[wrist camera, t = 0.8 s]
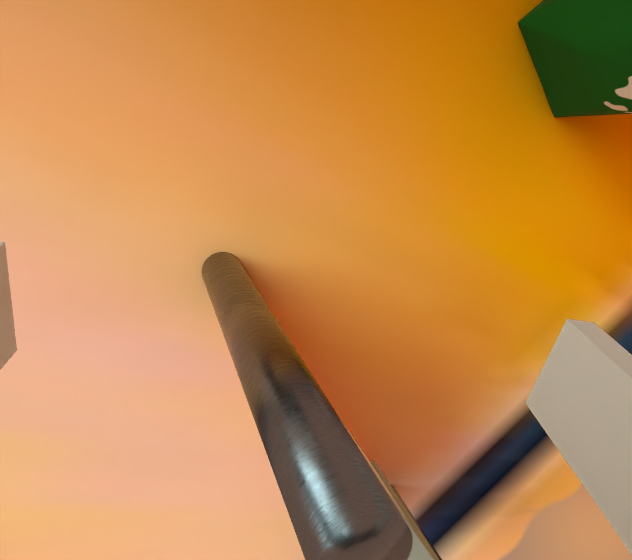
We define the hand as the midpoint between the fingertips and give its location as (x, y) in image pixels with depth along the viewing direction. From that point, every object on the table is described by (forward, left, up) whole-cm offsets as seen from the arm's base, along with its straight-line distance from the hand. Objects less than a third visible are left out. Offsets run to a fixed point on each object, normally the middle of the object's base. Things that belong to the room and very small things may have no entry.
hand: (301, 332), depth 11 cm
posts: (+15, +7, -17) cm, 24 cm away
